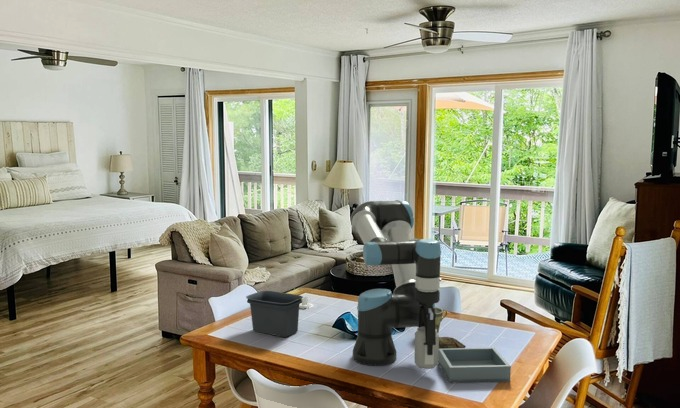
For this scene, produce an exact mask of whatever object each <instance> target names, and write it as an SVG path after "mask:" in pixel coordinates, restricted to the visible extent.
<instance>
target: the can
mask: <svg viewBox="0 0 680 408" xmlns="http://www.w3.org/2000/svg"><path fill="white" fill-rule="evenodd" d="M435 331H436V345H434V364H426V365H425V364H424V362H425V345H424V344H423V343H426V337H425V326H423V327H419V328H418V327H417V329H416V331H415V333H414V364H415V365H416V366H417V367H418V368H420V369H423V370H430V369H431V370H432V369H434V368H436V367H437V366H438V365H439V363H438V351H439V337H440V334H439V333H437V329H435Z"/></svg>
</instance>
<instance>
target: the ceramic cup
mask: <svg viewBox="0 0 680 408" xmlns="http://www.w3.org/2000/svg"><path fill="white" fill-rule="evenodd" d="M444 312H445V314H444V316H443V313H444ZM435 313H436V319H435V329H437V333H438V334H439V331H440V326H441V323H442V321H443V320H444V319H445V318H446V317H447V316H448V311H447V310H446V309H442V308H439V307H437V306H435Z"/></svg>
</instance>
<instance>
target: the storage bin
mask: <svg viewBox="0 0 680 408" xmlns="http://www.w3.org/2000/svg"><path fill="white" fill-rule="evenodd" d="M303 297H304V296H302V295H299V294H293V293H287V292H286V293H285V292H280V291H273V290H260V291H257V292H255V293H251V294H249V295H246V296H245V298H246V299H247V301H246V302H247V304H249V307H250V313H251V314H250V316H251V324H252V330H253V331H254V332H257V333H262V334H268V335H273V336H277V337H283V338H287V337H289V336H291V335H293V334H295V333H297V332H298V330H299V315H300V308H299V307H300V305H299V304H301V303H302V300H301V299H302V298H303ZM301 305H302V304H301Z"/></svg>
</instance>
